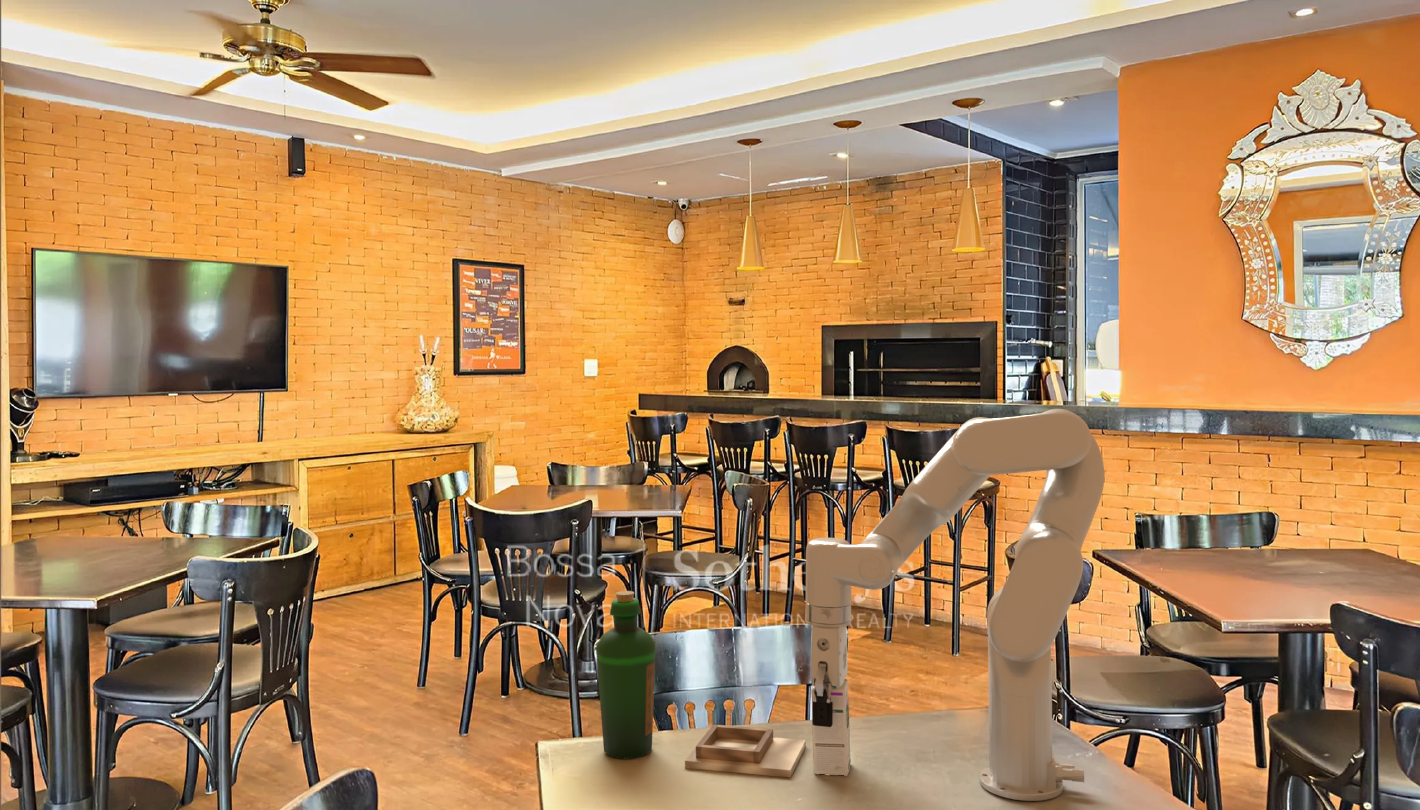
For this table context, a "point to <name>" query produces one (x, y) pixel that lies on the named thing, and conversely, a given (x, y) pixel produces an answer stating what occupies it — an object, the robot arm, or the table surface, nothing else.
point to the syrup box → (833, 736)
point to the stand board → (746, 751)
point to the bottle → (626, 681)
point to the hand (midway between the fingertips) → (827, 715)
